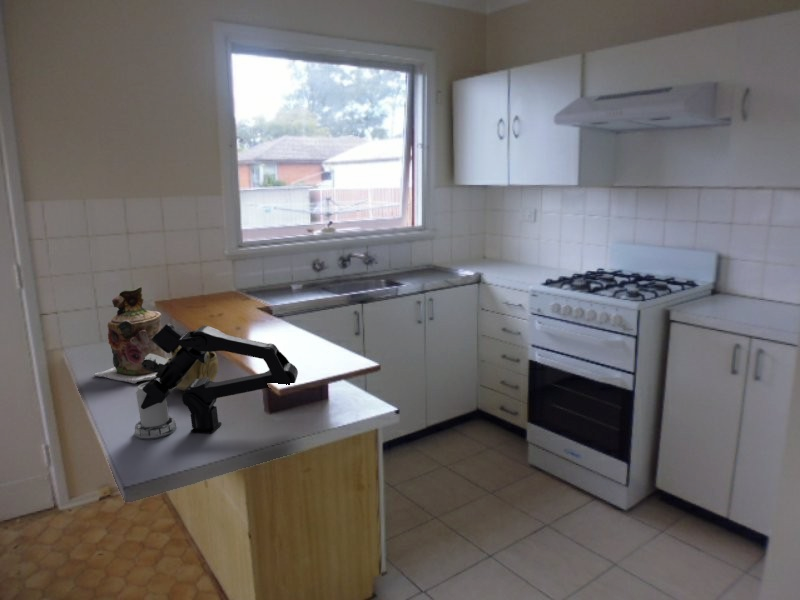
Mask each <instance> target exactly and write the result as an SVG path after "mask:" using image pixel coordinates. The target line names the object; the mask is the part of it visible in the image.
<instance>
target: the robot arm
mask: <svg viewBox="0 0 800 600" xmlns="http://www.w3.org/2000/svg"><path fill="white" fill-rule="evenodd" d="M151 341H152V342H153V343H154V344H156V345H157V346H158V347H160V348H161V349H162V350H163V351H165V352H166V353H167V354H170V353H171V352H172V353H174V352H175V351H176V349H177V348H178V347H179V346H181V348H180V350H179V351H178V352H177V353H176V354H175V355H174V357H173V358H171V359H170V360H167V359H165V358H163V357H161V356H158V355H155V354H151V353H150V354H148V355H147V356H146V357H145V358H144V361H143V362H142V363H141V364H142V369H144V370H148V371H152V372H155V373H157V374H156V375H155V376H157V377H156V378H158V379H156V378H154V379H151V380H148V381H147V382H148V383H147V384H146V385H145V387H144V388H143V391H144V392H145V393H147V394H146V397H145V399H144V401H143V403H142V405H141V408H142V409H146V408H148V407H150V406H152V405H155V404H157V403H162V402H163V401H164V400H165V398H166V399H167V398H168V396H169V395H170V390H172V389H174V388H175V387H176V386H177V385H178V384H179V383H180V382H181V381H182V380H183V378H184V377H185V376H186V373H187V372H188V371H189V370H190V369H191V368H192V366H193V365H194V364H195V363H196V362H197V361H198V360H199V361H200V362H202V363H205V362H206V360H207V359H208V357H207V352H227V353H230V354H231V353H232V354H236V355H240V356H246V357H250V358H251V357H252V358H256V359H261V360H263V361H264V362H265V364H266V365H267V366H266V367H267V368H268V370H266V371H264V372H262V373H257V374H251V375H246V376H242V377H241V376H240V377H237V378H231V379H225V380H221V381H210V377H206V378H203V379H196V380H195V381H194V382H192V383H191V384H190V385H189V386H188V388H187V389H186V390H185V391H183V393H182V394H181V402H182V403H183V405H184V406H185V407H187V409H188V410H189V413H190V421H191V428H192V429H191V430H190V433H192V434H193V433H195V434H213V433H214V432H215V431H216V430H217V429H218V428H219V427H220V426H222V422H220V421H219V415H218V407H217V406H215V403H217V399H218V398H225V397H229V396H235V395H241V394H244V393H249V392H255V391H259V390H265V389H267V390H272V389H271V388H269V387H268V385H267V383H278V384H286V385H287V384H288V385H290V383H295V384H296V380H297V378H298V374H299V372H298V371H299V370H298V368H297V367H296V366H295V365H294V364H292V363H291V362H290V361H289V360H288V358H287V357H286V356H285V354H283V353H282V352H281V351H280V350H279V348H278V347H277V346H276V345H275V344H274V343H271V342H270V343H267V342H261V341H256V340H251V339H247V338H243V337H237V336H233V335H229V334H225V333H224V332H222V331H221V330H220V329H217V328H214V327H212V326H209V325H202V326H200V327H198V328H197V329H196V330H192V331H186V332H185V333H182V332H180V331H179V330H178V329H177V328H176V327H175V326H174V325H173V324H171V323H170V322H167V323H165V325H164V326H163V327H162V329H161V330H160V331H159V332H158V333H156V335H155V336H154V337H153V338H152V339H151ZM172 353H171V354H172ZM160 382H161V383H160ZM272 391H273V390H272Z"/></svg>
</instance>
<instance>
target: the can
mask: <svg viewBox="0 0 800 600" xmlns="http://www.w3.org/2000/svg"><path fill="white" fill-rule="evenodd" d="M148 382H149V381H146V382H143V383H140V384H139V385H138V386H137V391H136V392H135V395H136V400H137V406H138V407H137V408H138V413H139V417H140V418H139V419H140V421H141V425H142V426H144V427H146V428H151V429H152V428H158V427H161V426H163V425H165V424H166V423H167V421H168V420H169V416H170V415H169V410H168V409H169V408H168V402H167V397H166V398H165V400H164V401H163V402H162V403H157V404H155V405H152V406H150V407H148V408H146V409H142V408H141V405H142V403H143V401H144V399H145V397H146V394H147V393H145V392H144V391H143V388H144V387H145V385H146V384H147V383H148ZM160 383H161V382H160Z"/></svg>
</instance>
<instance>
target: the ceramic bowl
mask: <svg viewBox="0 0 800 600" xmlns="http://www.w3.org/2000/svg"><path fill="white" fill-rule="evenodd" d="M180 348H181V346H179V347H178V348H177V349H176V351H175V352H174V353H172V352H170V353H171V356H170V357H167V358H168V359H167V360H170V359H171V358H173V357H174V355H175V354H176V353H177V352H178V351H179V350H180ZM207 357H208V359H207V360H206V362H205V363H202V362H200V361H199V360H198V361H197V362H196V363H195V364H194V365H193V366H192V368H191V369H190V370H189V371H188V372H187V373H186V376H185V377H184V378H183V380H182V381H181V382H180V383H179V384H178V385H177V386H176V387H174V388H175V389H177V390H179V391H182V392H184V391H185V390H186V389H187V388H188V386H189V385H190V384H191V383H192V382H194V381H195V380H196V379H203V378H206V377H210V381H212V382H214V380H215V379H216V378H217V375H218V371H219V361H218V356H217V353H216V351H214V352H207Z"/></svg>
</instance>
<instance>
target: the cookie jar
mask: <svg viewBox="0 0 800 600" xmlns="http://www.w3.org/2000/svg"><path fill="white" fill-rule="evenodd" d="M142 288H143V287H142V286H138V287H137V288H136V289H126V290H123V291H121V292H119V295H118V296H116V297H113V298H112V300H111V301H112V304H113V307H114V308H117V309H118V310H117V311H116V314H115V315H114V316H112V317H111V319H110V320H109V321H108V323H107V328H108V329H107V330H108V331H107V332H108V333H107V339H108V344H109V345H110V349H111V352H112V364H113V367H111V368H109V369H107V370H103V371H99V372H95V373H93V376H94V377H101V378H108V379H110V380H115V381H119V382H120V381H121V382H125V383H130V384H131V383H132V384H137V382H141V381H150V380H154V379H156V378H158V377H157V376H155V375H156V374H157V373H155V372H152V371H148V370H144V369H142V364H141V363H142V362H143V361H144V358H145V357H146V356H147V355H148V354H150V353H151V354H155V355H158V356H161V357H163V358H165V359H168V358H169V357H168V353H166V352H165V351H163V350H162V349H161V348H160V347H158V346H157V345H156V344H154V343H153V342H152V341H151V339H152V338H153V337H154V336H155V335H156V333H158V332H159V331H160V330H161V329H162V328H163V327H162V324H161V319H162V313H161V312H160V311H155V310H148V309H146V308H144V307H143V304H144V300H145V299H144V298H143V293H142V292H143V289H142Z"/></svg>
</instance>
